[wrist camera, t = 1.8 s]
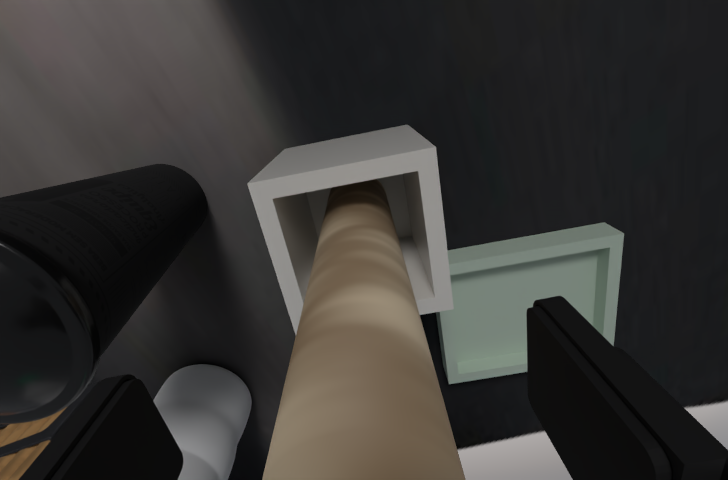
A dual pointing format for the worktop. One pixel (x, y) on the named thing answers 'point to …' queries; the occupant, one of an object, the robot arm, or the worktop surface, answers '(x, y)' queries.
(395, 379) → the dowel
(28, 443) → the ammunition clip
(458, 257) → the tray
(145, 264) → the drinking cup
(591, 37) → the worktop surface
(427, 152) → the holder
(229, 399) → the water bottle
